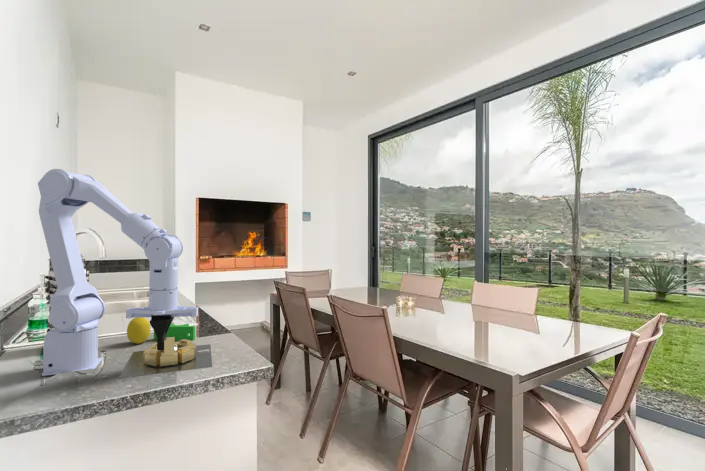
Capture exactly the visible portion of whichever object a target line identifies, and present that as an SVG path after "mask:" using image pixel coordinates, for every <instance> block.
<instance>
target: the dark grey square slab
mask: <svg viewBox="0 0 705 471" xmlns="http://www.w3.org/2000/svg"><path fill="white" fill-rule="evenodd" d="M144 351H145V350H138V351H133V353H132V355H131V356H130V358H129V360H128V361H127V362H126V365H125V367H124V368H123V370H122V372H121V374H120V375H119V377H118V379H122V378H124V379H125V378H131V377H132V378H133V377H139V376H140V377H141V376H149V375H157V374H166V373H175V372H183V371H189V370H191V371H192V370H199V369H200V370H201V369H206V368H207V369H208V368H212V367H213V362H212V361H213V359H212V348H211V344H210V343H209V344H200V345H199V344H198V345H196V357H194V359H192V360H189V361H187V362H184V363H178V364H176V365H168V366H160V365H158V366H152V365H147V364H145V363H143V353H144ZM176 351H178V346H176V345H175V352H176Z"/></svg>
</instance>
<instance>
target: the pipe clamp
mask: <svg viewBox="0 0 705 471" xmlns="http://www.w3.org/2000/svg"><path fill="white" fill-rule="evenodd" d="M168 337H175V341H180V340H182V339H186V340H191V341H194V340H196V326H195V325H190V324H189V323H184V324H174V323H173V322H172V323H171V325H170V327H169V329H168V331H167V334H166V338H168ZM153 340H154V341H157V336H156V334H155V332H154V331H153Z"/></svg>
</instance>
